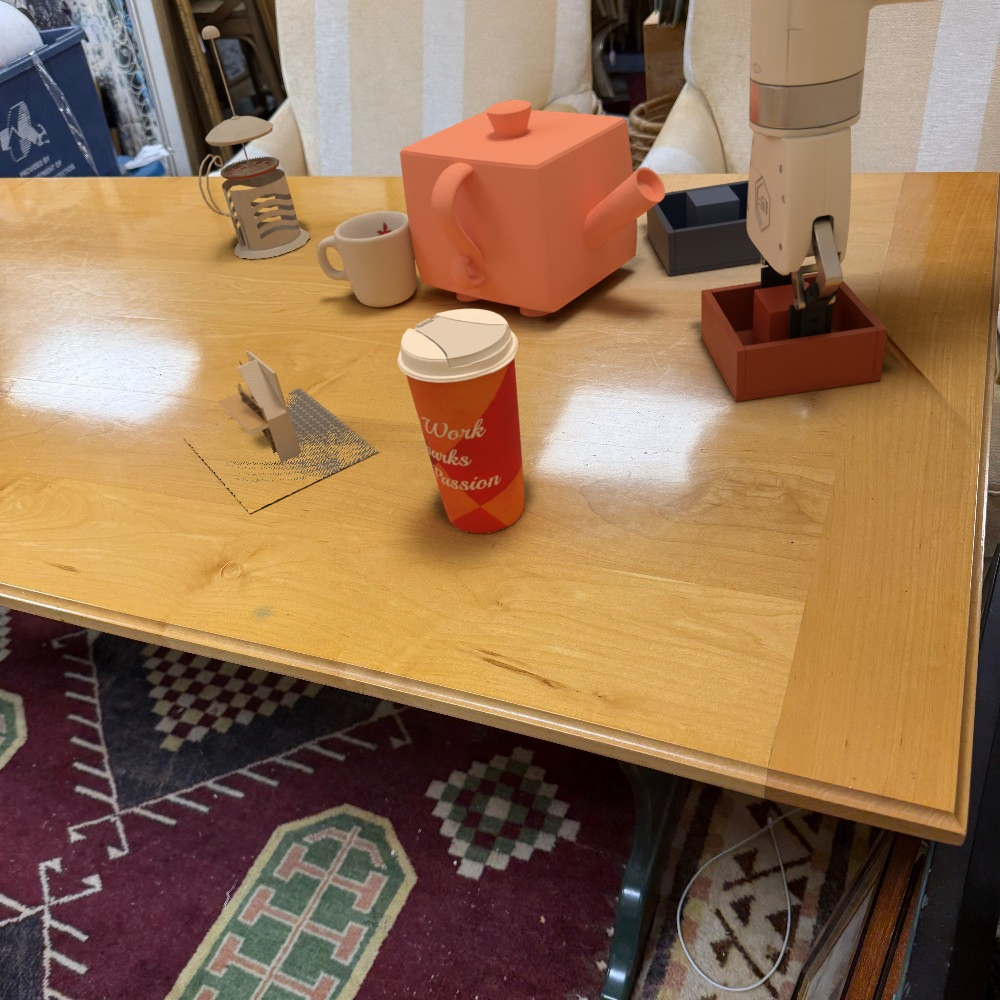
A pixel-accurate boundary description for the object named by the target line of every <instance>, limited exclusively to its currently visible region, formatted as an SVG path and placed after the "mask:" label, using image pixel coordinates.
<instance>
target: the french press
mask: <svg viewBox="0 0 1000 1000" xmlns="http://www.w3.org/2000/svg"><path fill="white" fill-rule="evenodd" d="M201 37H202V40H210V41H211V43H212V47H213V51H214V54H215V57H216V61H217V64H218V67H219V71H220V74H221V78H222V81H223V84H224V88H225V92H226V95H227V97H228V98H227V99H228V102H229V105H230V108H231V111H232V115H233V116H232V117H230V118H228V119H224V120H223V121H222V122H220V123H219V124H217V125H216V126H214V127H213V128H212V129H211V130H210V131H209V132H208V134H207V135H206V137H205V142H206V143H207V144H208V145H210V146H213V147H226V146H234V145H239V144H241V145H242V148H243V152H244V156H245V158H244V159H241V160H238V161H234V162H232V163H230V164H228V165H226V166H224V162H223V158H222V157H221V155H219V154H218V155H214V154H212V153H209V154H207V155H206V157H205V158H204V159H203V160H202V161H201V164H200V167H199V170H198V187H199V190H200V193H201V196H202V198H203V200H204V202H205V204H206V205H207V206H208V208H210V210H211V211H212V212H214V213H216V214H218V215H220V216H225V217H227V218H230V220H231V222H232V225H233V228H234V231H235V234H236V237H237V240H238V242H237V244H236V246H235V247H234V254H237V255H238V256H240V257H244V258H251V259H253V258H266V257H271V256H276V255H280V254H283V253H286V252H289V251H292V250H294V249H296V248H298V247H300V246H301V245H303V244H305V243H306V241H307V240H308V239H309V238H311V236H310V237H309V231H307V230H305V229H303V228H301V227H300V223H299V220H298V216H297V212H296V208H295V205H294V201H293V197H292V194H291V191H290V186H289V184H288V180H287V176H286V172H285V171H284V170H283V169H281V168H278V167H279V165H280V159H278V158H277V157H273V156H254V158H253V157H251V158H249V157H248V154H247V151H246V147H245V143H249V142H252V141H255V140H258V139H260V138H263V137H265V136H267V135H269V134H270V133H272V132H273V130H274V123H273V122H271V121H267V120H265V119H263V118H261V117H260V118H259V117H257V116H252V115H243V116H241V115H240V116H239V115H236V112H235V110H234V106H233V104H232V100H231V99H232V98H231V96H230V92H229V89H228V86H227V82H226V80H225V79H226V78H225V76H224V72H223V69H222V65H221V62H220V59H219V55H218V52H217V49H216V45H215V42H214V39H216V38H219V37H221V33H220V31H219V29H218V28H217V27H216V26H214V25H207V26H205V27H204V28H203V29H202V30H201ZM210 157H211V161H210V162H209V164H208V167H207V171H206V174H205V178H206V180H205V181H206V182H205V183H206V190H207V193H208V196H209V199H210V202H211V203H212V205H213V206H214V207H213V206H212V205H211V203H210V202H209V201H208V200H207V197H206V194H205V191H204V189H203V187H202V173H203V168H204V165H205V162H207V160H208V159H209V158H210ZM217 159H219V162H220V164H218V163H217V161H216V160H217ZM213 164H214V165H215V166H216V167H219V168H222V167H223V168H222V169H221V170H220V176H221V177H222V178H224V179H226V180H225V181H223V182H222V184H221V190H222V192H223V195H224V198H225V202H226V205H227V208H228V211H229V213H226V212H224V211H222V209H220V208H219V206H218V205H217V204H216V202H215V201H214V199H213V196H212V192H211V190H210V182H209V181H210V179H209V174H210V171H211V168H212V165H213ZM236 186H243V187H248V189H238V190H233V189H232V188H233V187H236ZM249 188H250V189H249ZM228 192H229V193H228ZM228 194H229V196H228ZM272 197H274V198H272ZM269 198H271V199H269ZM257 199H266V200H265V201H262V202H261V201H259V202H258V201H256V200H257ZM231 204H233V206H232V205H231ZM275 207H277V209H272V208H275ZM214 208H215V209H214ZM263 209H271V210H268V211H261V210H263ZM235 214H236V215H235ZM277 217H280V219H275V220H272V221H265V220H267V219H269V218H270V219H271V218H273V219H274V218H277ZM238 224H239V226H238ZM306 244H307V243H306ZM306 244H305V245H306ZM300 248H301V247H300ZM292 252H293V251H292Z"/></svg>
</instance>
